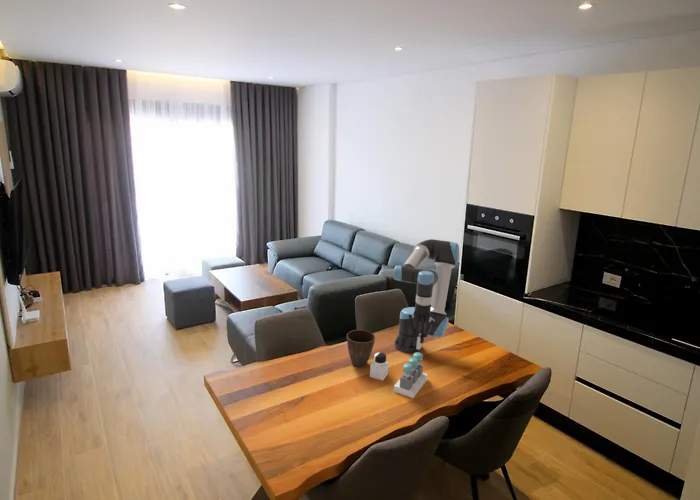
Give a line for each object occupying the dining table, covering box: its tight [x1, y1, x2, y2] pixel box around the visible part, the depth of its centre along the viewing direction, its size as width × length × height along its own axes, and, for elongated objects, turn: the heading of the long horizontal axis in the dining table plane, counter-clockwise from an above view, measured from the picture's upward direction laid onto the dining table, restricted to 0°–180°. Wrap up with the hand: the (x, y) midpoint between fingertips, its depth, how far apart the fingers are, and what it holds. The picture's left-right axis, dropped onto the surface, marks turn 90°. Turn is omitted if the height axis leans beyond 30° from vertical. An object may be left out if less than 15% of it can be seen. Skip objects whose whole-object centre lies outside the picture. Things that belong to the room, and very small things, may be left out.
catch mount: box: [393, 363, 429, 399], centre depth 210 cm, size 10×19×8 cm, turn 150°
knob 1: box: [402, 362, 413, 379], centre depth 203 cm, size 5×5×8 cm
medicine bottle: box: [369, 352, 389, 382], centre depth 217 cm, size 7×7×12 cm
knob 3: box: [412, 351, 424, 367], centre depth 214 cm, size 5×5×8 cm
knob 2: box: [407, 357, 418, 373], centre depth 209 cm, size 5×5×8 cm
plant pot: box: [346, 329, 376, 368], centre depth 227 cm, size 15×15×16 cm
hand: (418, 348), depth 212 cm, fingers closed
